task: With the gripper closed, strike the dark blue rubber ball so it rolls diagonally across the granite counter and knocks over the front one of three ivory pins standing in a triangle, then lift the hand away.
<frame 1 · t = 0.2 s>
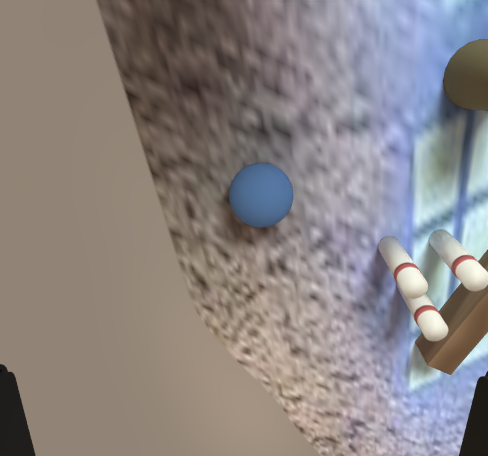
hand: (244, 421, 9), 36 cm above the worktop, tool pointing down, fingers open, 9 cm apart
cork: (476, 75, 40), on the worktop
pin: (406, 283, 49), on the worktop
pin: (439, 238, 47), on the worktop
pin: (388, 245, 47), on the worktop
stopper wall: (474, 286, 49), on the worktop
ball: (261, 195, 42), on the worktop
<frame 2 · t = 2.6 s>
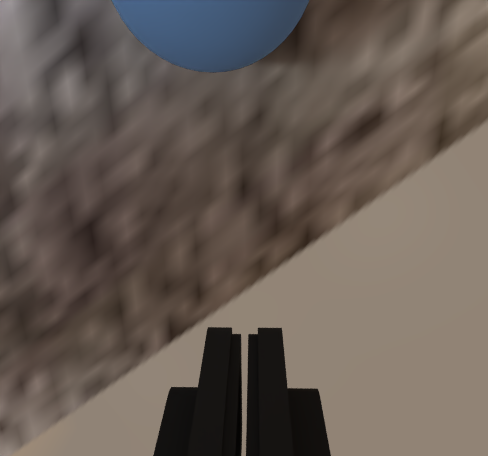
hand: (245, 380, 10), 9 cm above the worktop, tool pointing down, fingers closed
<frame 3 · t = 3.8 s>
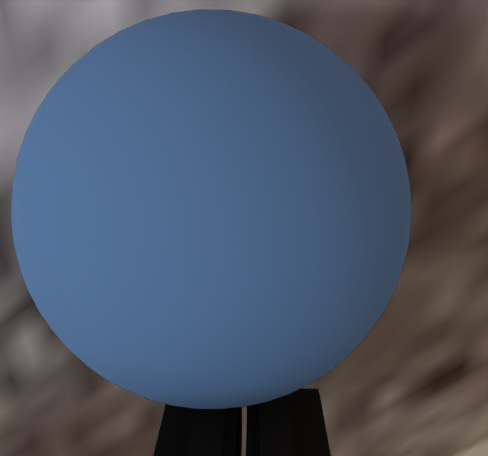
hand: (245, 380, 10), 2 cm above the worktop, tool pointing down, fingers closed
ball: (216, 212, 7), on the worktop
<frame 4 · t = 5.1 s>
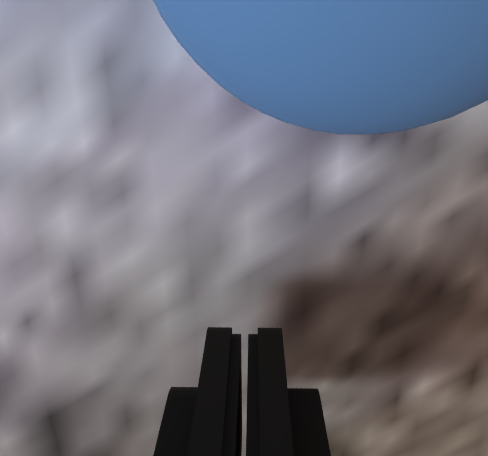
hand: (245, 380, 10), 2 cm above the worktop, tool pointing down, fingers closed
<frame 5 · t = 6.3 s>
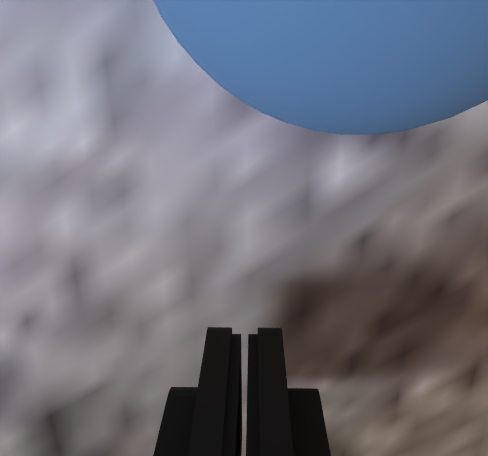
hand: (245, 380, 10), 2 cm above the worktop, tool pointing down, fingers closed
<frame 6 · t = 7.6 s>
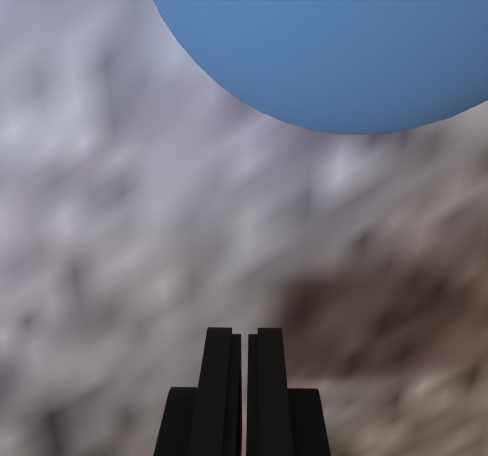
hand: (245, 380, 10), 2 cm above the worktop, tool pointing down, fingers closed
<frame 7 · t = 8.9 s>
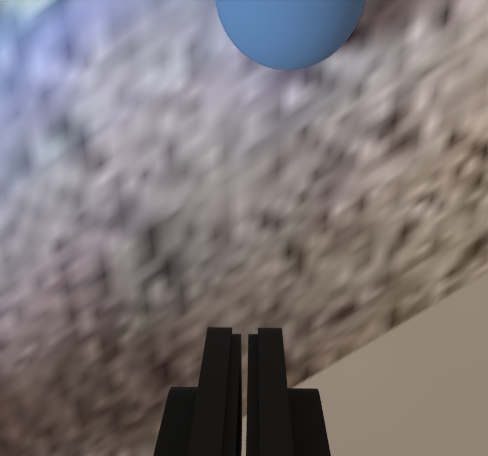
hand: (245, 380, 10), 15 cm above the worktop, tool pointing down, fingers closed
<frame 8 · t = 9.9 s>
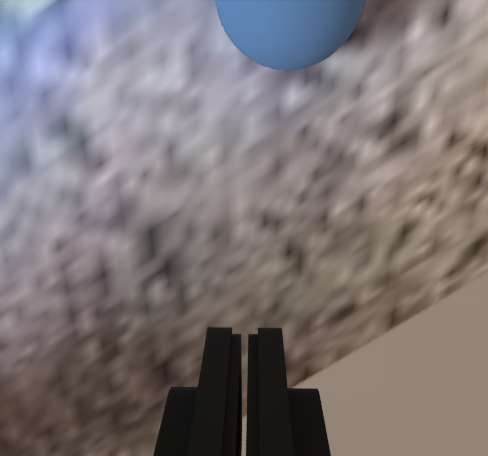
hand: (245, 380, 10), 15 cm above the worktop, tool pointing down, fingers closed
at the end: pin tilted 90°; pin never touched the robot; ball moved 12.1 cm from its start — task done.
